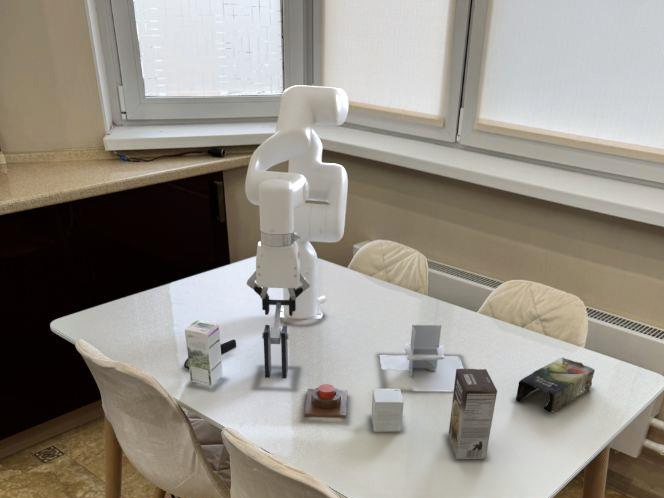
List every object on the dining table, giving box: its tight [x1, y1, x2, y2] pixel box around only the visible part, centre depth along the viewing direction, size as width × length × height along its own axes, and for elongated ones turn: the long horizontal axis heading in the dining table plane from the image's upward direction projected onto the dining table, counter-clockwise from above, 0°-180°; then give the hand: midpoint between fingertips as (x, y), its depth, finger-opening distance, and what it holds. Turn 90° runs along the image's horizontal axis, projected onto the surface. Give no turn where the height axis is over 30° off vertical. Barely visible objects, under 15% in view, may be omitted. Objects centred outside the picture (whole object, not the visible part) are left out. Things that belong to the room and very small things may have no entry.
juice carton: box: [515, 356, 595, 414], centre depth 162 cm, size 20×10×6 cm, turn 136°
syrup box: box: [184, 320, 224, 387], centre depth 158 cm, size 6×6×14 cm
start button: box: [317, 383, 336, 398], centre depth 152 cm, size 4×4×2 cm
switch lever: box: [268, 298, 289, 345], centre depth 162 cm, size 12×5×2 cm, turn 0°
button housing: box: [303, 387, 348, 419], centre depth 153 cm, size 11×9×4 cm
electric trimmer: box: [183, 338, 237, 372], centre depth 171 cm, size 4×16×3 cm, turn 142°
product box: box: [370, 388, 405, 433], centre depth 148 cm, size 6×6×7 cm
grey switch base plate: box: [379, 324, 465, 393], centre depth 167 cm, size 19×21×12 cm
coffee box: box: [448, 368, 498, 460], centre depth 139 cm, size 9×6×16 cm
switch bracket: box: [261, 324, 290, 379], centre depth 162 cm, size 11×9×13 cm
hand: (279, 312), depth 166 cm, fingers closed on switch lever, 5 cm apart
